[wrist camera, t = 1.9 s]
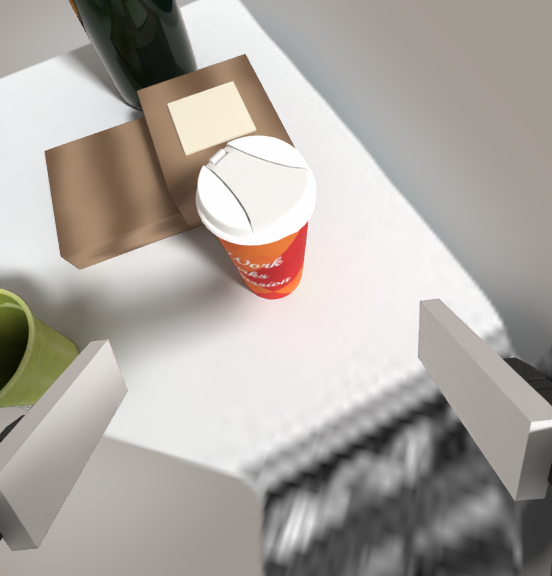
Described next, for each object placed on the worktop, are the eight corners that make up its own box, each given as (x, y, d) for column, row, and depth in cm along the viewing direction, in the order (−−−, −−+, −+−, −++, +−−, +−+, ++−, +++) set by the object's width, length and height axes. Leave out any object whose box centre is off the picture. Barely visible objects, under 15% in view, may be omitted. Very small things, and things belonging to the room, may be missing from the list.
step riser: (79, 269, 36) (36, 239, 30) (62, 169, 41) (22, 127, 35) (296, 189, 37) (295, 146, 31) (253, 102, 42) (245, 52, 37)
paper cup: (217, 278, 34) (163, 188, 21) (269, 224, 36) (247, 111, 23) (278, 327, 32) (259, 260, 19) (330, 267, 34) (345, 168, 21)
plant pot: (33, 309, 35) (-49, 273, 27) (117, 333, 33) (55, 303, 25) (-19, 404, 31) (-131, 397, 23) (70, 436, 30) (-18, 441, 22)
